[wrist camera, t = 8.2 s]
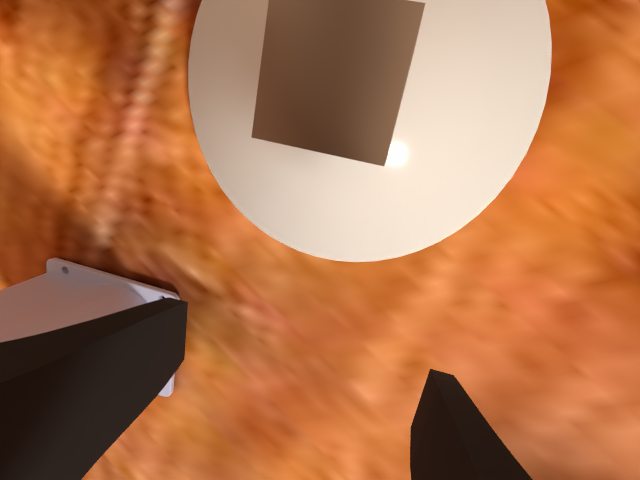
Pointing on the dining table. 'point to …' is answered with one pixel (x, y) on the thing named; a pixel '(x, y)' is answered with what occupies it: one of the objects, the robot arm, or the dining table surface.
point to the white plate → (408, 138)
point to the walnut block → (335, 74)
